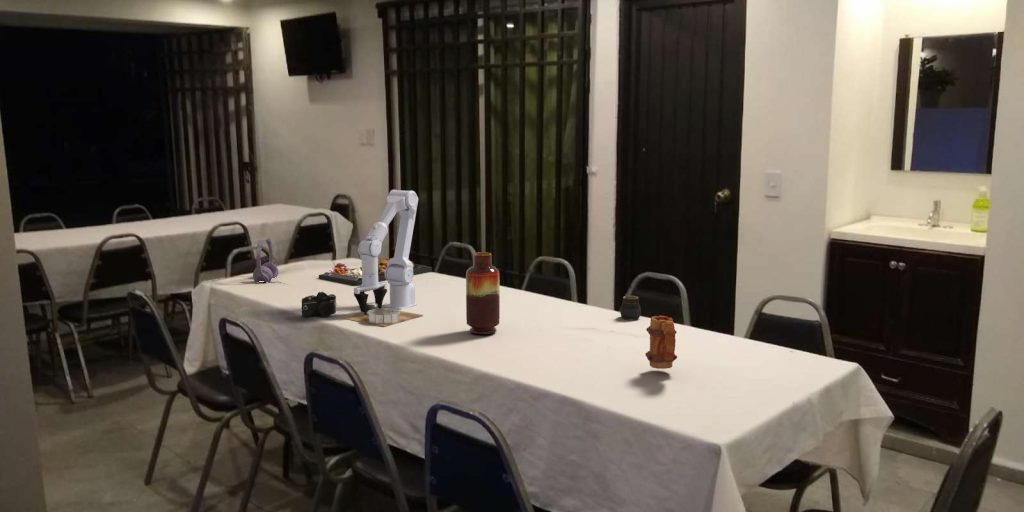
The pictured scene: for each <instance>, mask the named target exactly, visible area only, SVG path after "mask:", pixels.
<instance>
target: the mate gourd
mask: <svg viewBox="0 0 1024 512" xmlns="http://www.w3.org/2000/svg"><path fill="white" fill-rule="evenodd" d="M624 295H625V296H623V297H622V303H621V306H620V310H619V311H620V312H619V314H620V317H621V318H622V319H623V318H624V320H627V319H636V320H639V319H640V318H641V313H642V310H641V305H640V301H639V296H636V295H628V294H627V293H624ZM638 318H639V319H638Z"/></svg>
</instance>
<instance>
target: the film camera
mask: <svg viewBox="0 0 1024 512" xmlns="http://www.w3.org/2000/svg"><path fill="white" fill-rule="evenodd" d="M337 305H338V303H337V296H336V295H335V294H334V293H330V294H327V293H325V292H324V291H319V292H317V294H316V295H308V296H305V297H302V298H301V317H302V318H310V317H318V316H321V317H324V318H328V317H330V316H332V315H334V314H336V311H337Z"/></svg>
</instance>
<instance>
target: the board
mask: <svg viewBox="0 0 1024 512" xmlns="http://www.w3.org/2000/svg"><path fill="white" fill-rule="evenodd" d="M399 311H400V320H399V321H398V322H394V323H388V324H374V323H369V322H368V321H367V315H365V314H364V312H361V313H358V314H354V315H349V316H346V317H342V319H343V320H347V321H352V322H357V323H362V324H367V325H373V326H377V327H382V328H385V327H389V326H392V325H396V324H399V323H403V322H407V321H410V320H411V321H412V320H414V319H416V318H421V317H424V314H419V313H415V312H413V313H412V312H408V311H402V310H399Z"/></svg>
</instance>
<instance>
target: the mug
mask: <svg viewBox="0 0 1024 512" xmlns="http://www.w3.org/2000/svg"><path fill="white" fill-rule="evenodd" d="M645 330H646V332H647V333H648V335H649V350H648V351H647V352H646V353H645V357H646V359H647V360H648V361H649V367H651V368H653V369H662V370H664V369H671V368H672V367H673V363H674V361H676V360H677V358H678V355H677V354H675V350H676V341H677V340H676V334H677V330H676V329H675V323H674V319H673V318H672V317H669V316H666V315H658V316H657V315H654V316H651V317H650V325H649V326H648V327H647V328H646V329H645Z"/></svg>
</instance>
